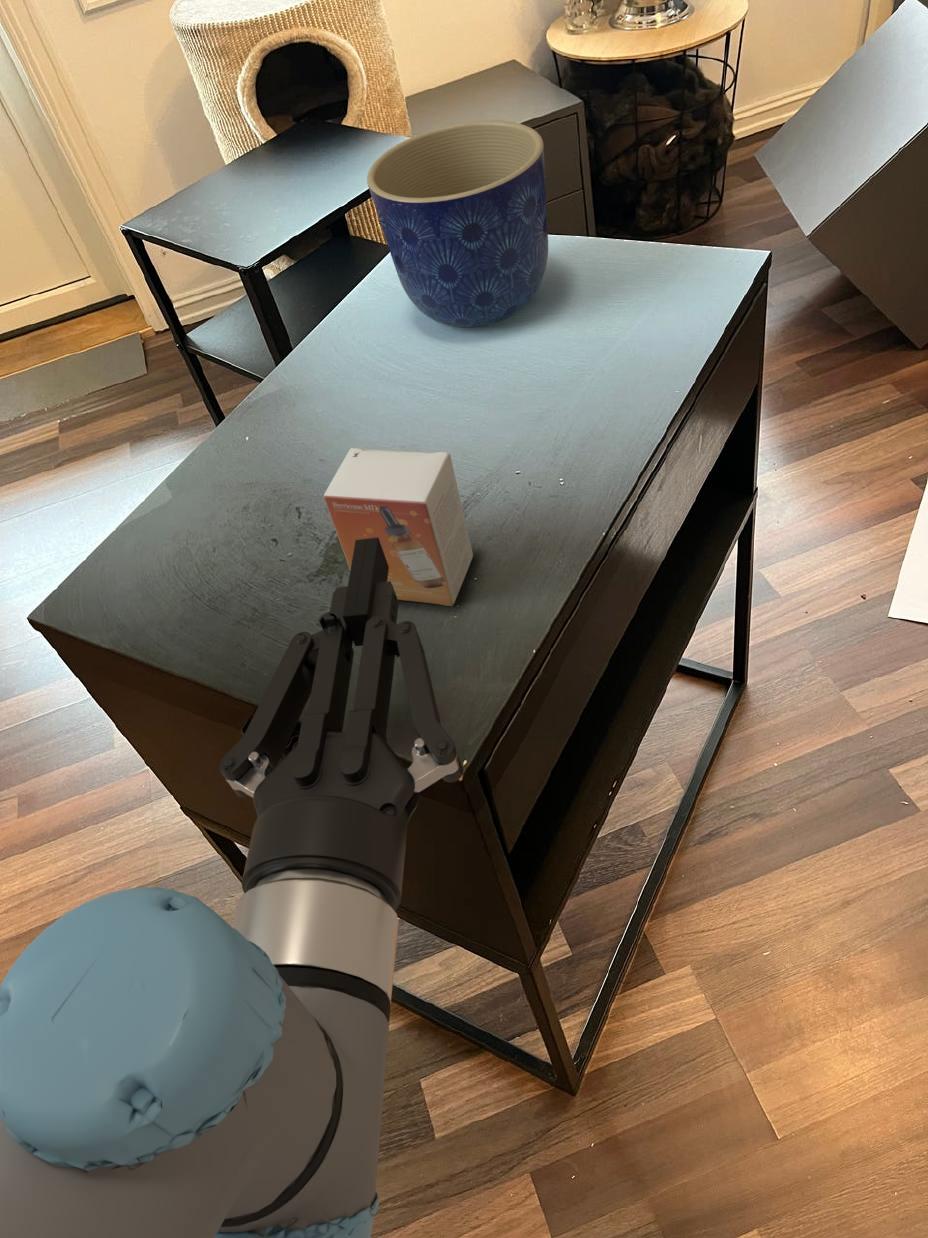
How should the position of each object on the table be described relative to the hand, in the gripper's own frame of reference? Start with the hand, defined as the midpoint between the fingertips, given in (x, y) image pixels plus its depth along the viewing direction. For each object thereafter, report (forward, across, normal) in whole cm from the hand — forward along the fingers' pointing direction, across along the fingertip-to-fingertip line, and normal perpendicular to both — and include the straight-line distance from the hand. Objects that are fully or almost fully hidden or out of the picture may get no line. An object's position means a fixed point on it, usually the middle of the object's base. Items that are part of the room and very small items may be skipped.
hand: (372, 554), depth 59 cm
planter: (+49, +4, -11) cm, 50 cm away
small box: (+9, 0, -11) cm, 14 cm away
